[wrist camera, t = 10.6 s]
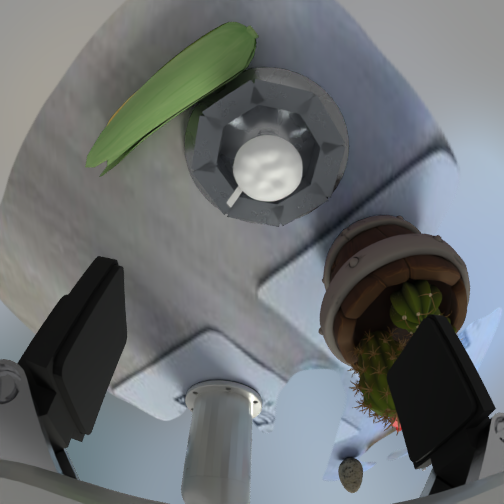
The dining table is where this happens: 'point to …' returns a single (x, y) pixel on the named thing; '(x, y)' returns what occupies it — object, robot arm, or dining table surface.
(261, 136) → the milkshake
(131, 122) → the edible corn
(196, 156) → the collar
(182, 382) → the dining table surface
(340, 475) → the decorative egg
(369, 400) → the flowerpot
